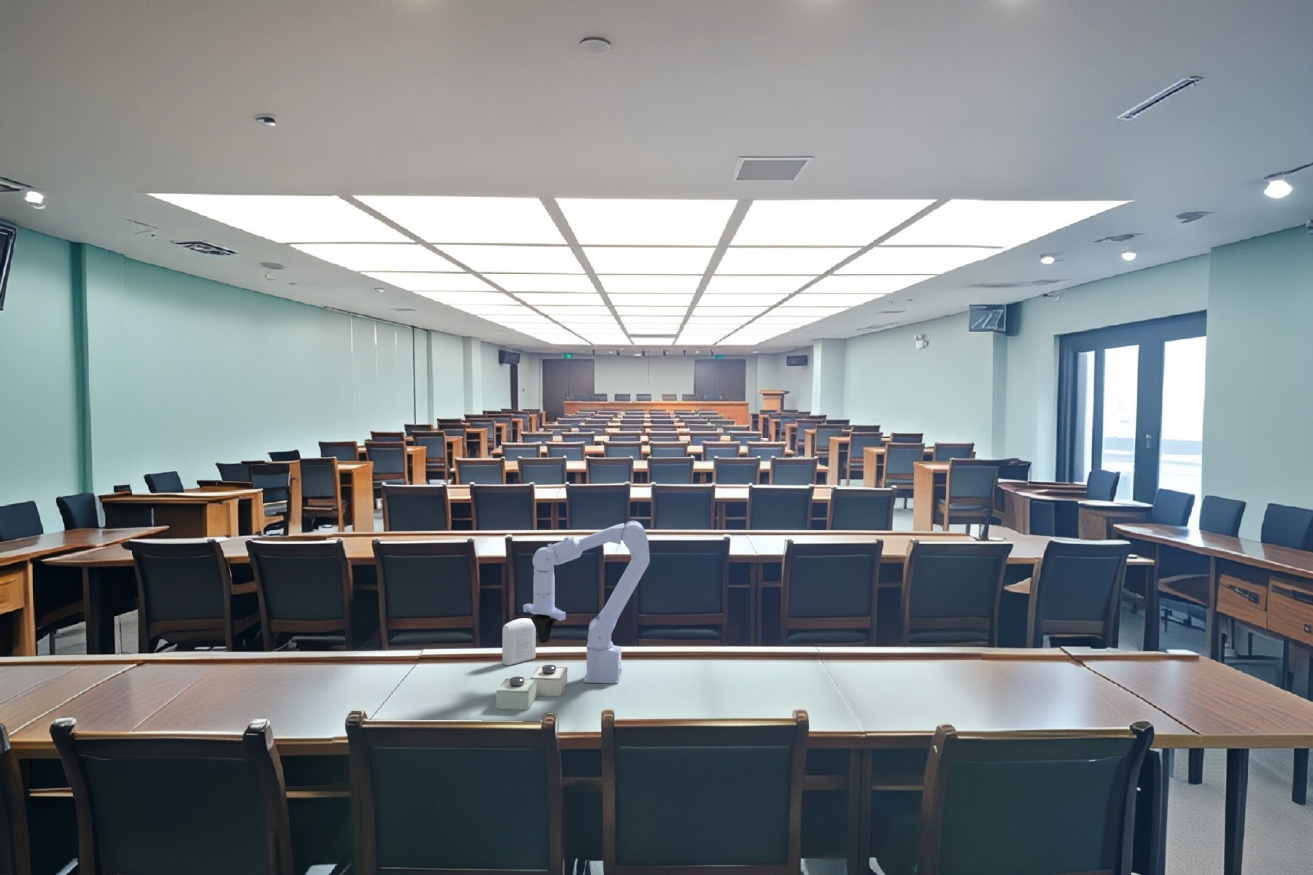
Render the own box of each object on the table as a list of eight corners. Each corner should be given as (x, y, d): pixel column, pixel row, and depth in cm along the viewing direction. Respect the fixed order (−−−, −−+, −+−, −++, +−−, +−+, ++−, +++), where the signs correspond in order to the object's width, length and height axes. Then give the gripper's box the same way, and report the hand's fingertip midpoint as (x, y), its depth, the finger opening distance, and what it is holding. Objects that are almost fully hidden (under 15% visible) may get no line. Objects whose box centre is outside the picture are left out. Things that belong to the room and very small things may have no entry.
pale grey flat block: (536, 696, 175) (536, 679, 175) (528, 709, 167) (528, 691, 167) (506, 695, 176) (506, 678, 176) (496, 708, 168) (496, 690, 168)
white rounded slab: (530, 655, 207) (529, 614, 207) (538, 658, 204) (537, 617, 204) (500, 663, 200) (499, 621, 200) (507, 667, 197) (507, 624, 197)
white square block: (567, 684, 184) (567, 667, 184) (560, 695, 176) (560, 678, 176) (538, 683, 185) (537, 666, 184) (530, 694, 177) (530, 677, 177)
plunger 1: (530, 695, 174) (529, 675, 174) (524, 704, 169) (524, 683, 169) (509, 695, 175) (509, 674, 174) (503, 703, 169) (503, 682, 169)
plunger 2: (561, 683, 183) (561, 663, 183) (556, 690, 177) (556, 670, 177) (541, 682, 183) (541, 663, 183) (536, 690, 178) (536, 670, 178)
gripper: (514, 591, 188) (514, 640, 188) (552, 599, 179) (552, 651, 180) (534, 586, 194) (534, 634, 194) (571, 594, 185) (571, 644, 185)
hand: (544, 641), depth 187 cm, fingers closed
